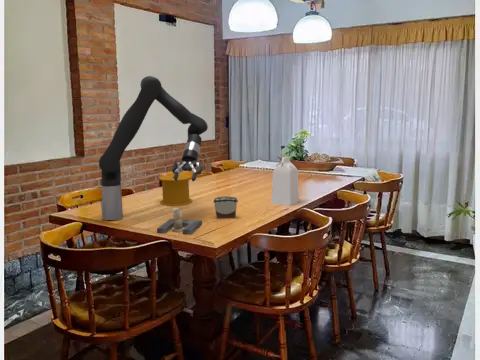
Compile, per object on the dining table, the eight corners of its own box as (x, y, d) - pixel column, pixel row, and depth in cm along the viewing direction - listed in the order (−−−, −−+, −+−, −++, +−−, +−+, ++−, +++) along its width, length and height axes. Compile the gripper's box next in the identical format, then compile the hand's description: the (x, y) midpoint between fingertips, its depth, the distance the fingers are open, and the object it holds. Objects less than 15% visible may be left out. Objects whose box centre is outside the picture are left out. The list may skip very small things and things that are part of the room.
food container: (238, 215, 225) (237, 195, 224) (238, 218, 219) (238, 198, 218) (213, 215, 225) (213, 196, 223) (213, 218, 219) (212, 199, 217)
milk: (280, 199, 259) (280, 155, 254) (298, 201, 253) (299, 156, 248) (271, 203, 248) (271, 157, 244) (290, 206, 243) (290, 158, 238)
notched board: (157, 232, 197) (156, 228, 197) (169, 222, 213) (169, 218, 212) (191, 234, 194) (191, 230, 194) (202, 224, 209) (201, 220, 209)
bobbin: (170, 231, 199) (169, 210, 197) (174, 228, 204) (173, 207, 202) (181, 232, 198) (180, 210, 196) (185, 228, 203) (184, 207, 201)
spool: (186, 206, 245) (185, 180, 242) (155, 205, 249) (154, 179, 246) (195, 199, 262) (195, 174, 260) (167, 198, 266) (166, 174, 263)
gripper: (175, 148, 217) (167, 175, 208) (203, 148, 214) (196, 176, 205) (179, 157, 223) (172, 184, 214) (206, 158, 220) (200, 185, 211)
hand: (184, 180), depth 209 cm, fingers open, 8 cm apart
